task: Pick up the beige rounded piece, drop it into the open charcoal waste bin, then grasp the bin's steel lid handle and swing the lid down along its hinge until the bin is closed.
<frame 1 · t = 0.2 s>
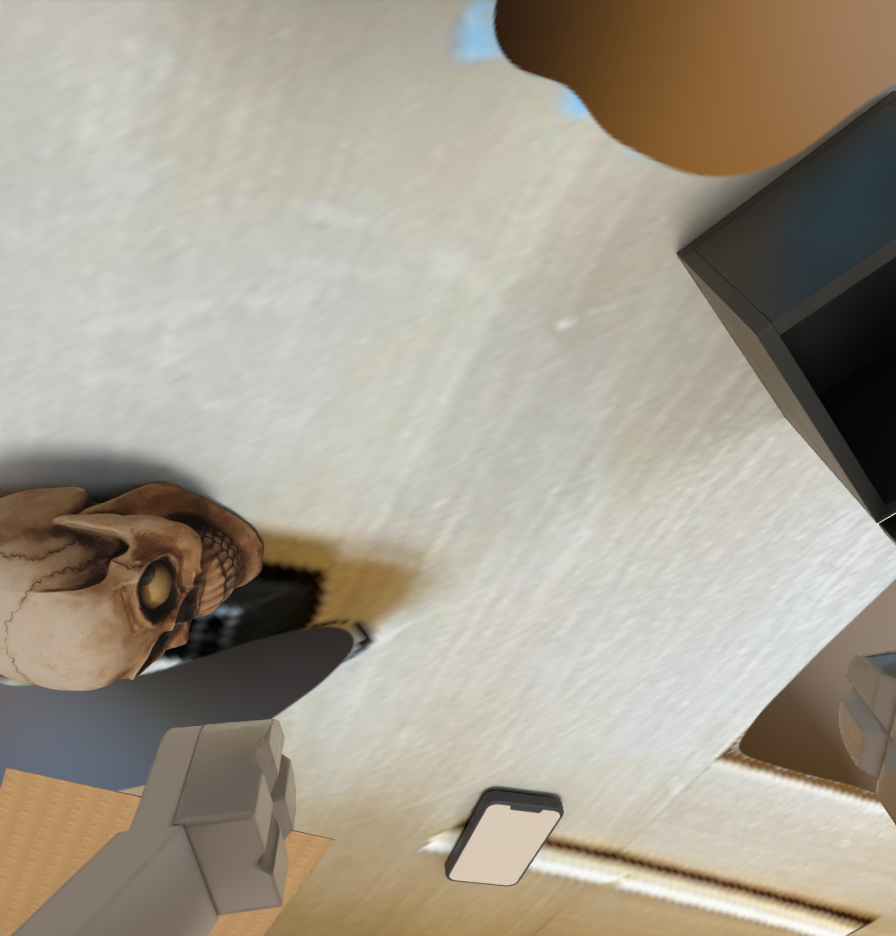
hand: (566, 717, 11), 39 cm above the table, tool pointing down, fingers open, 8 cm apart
waste bin: (833, 273, 49), on the table
brown skull: (131, 532, 57), on the table
staircase: (135, 890, 84), on the table
phone case: (500, 831, 82), on the table
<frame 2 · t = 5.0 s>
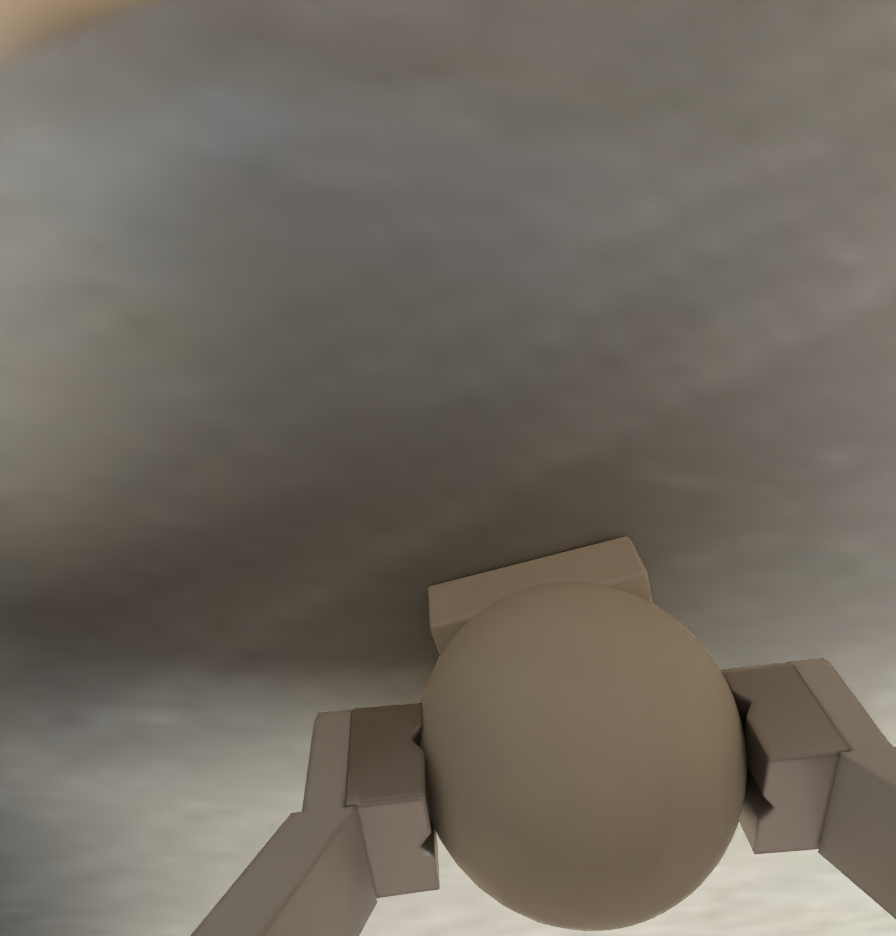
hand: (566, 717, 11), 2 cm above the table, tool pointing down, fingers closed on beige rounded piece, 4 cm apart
beige rounded piece: (547, 637, 12), on the table, touching gripper
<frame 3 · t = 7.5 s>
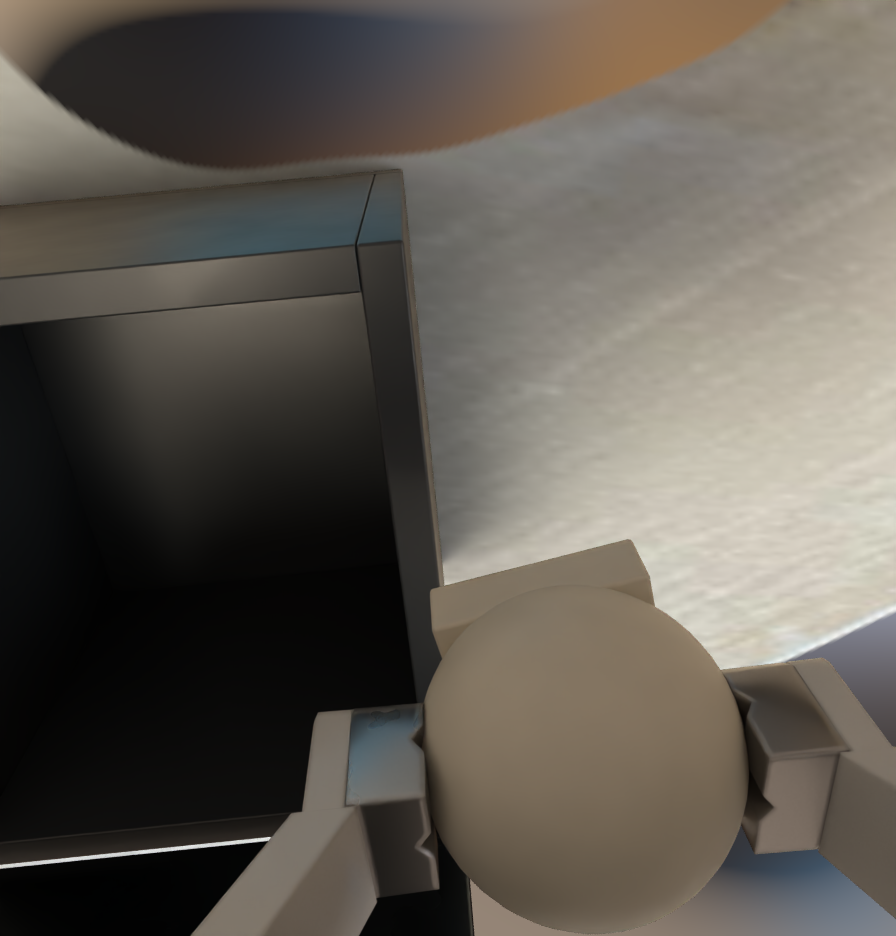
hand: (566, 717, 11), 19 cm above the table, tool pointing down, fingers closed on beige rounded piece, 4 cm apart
beige rounded piece: (549, 639, 12), point 17 cm above the table, touching gripper
waste bin: (235, 410, 28), on the table
when the fingers open (15 cm above the table, at t = 10.0 s): beige rounded piece drops 11 cm and tips over, resting on waste bin.
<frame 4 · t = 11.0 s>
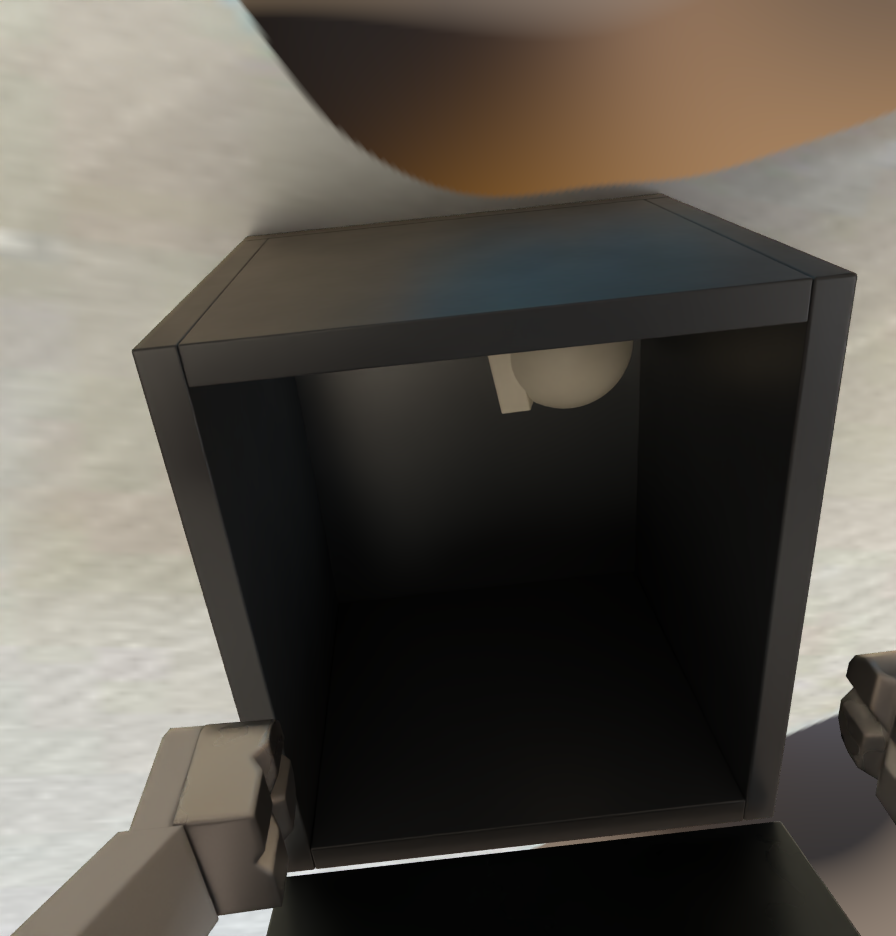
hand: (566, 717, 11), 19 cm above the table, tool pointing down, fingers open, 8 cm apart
beige rounded piece: (499, 351, 26), point 2 cm above the table, tilted 72°, touching waste bin
waste bin: (472, 425, 29), on the table
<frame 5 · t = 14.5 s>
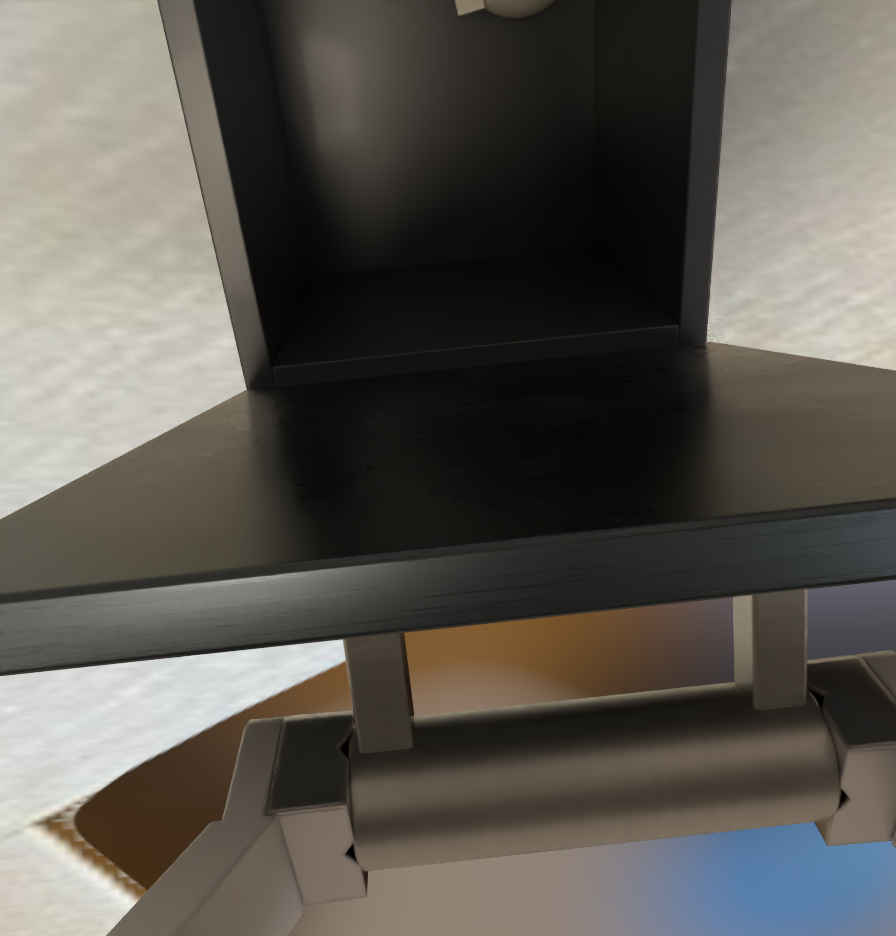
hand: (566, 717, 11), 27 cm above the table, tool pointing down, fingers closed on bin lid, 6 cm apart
waste bin: (436, 83, 31), on the table
bin lid: (518, 524, 15), point 21 cm above the table, hinge at 75.0°, touching gripper
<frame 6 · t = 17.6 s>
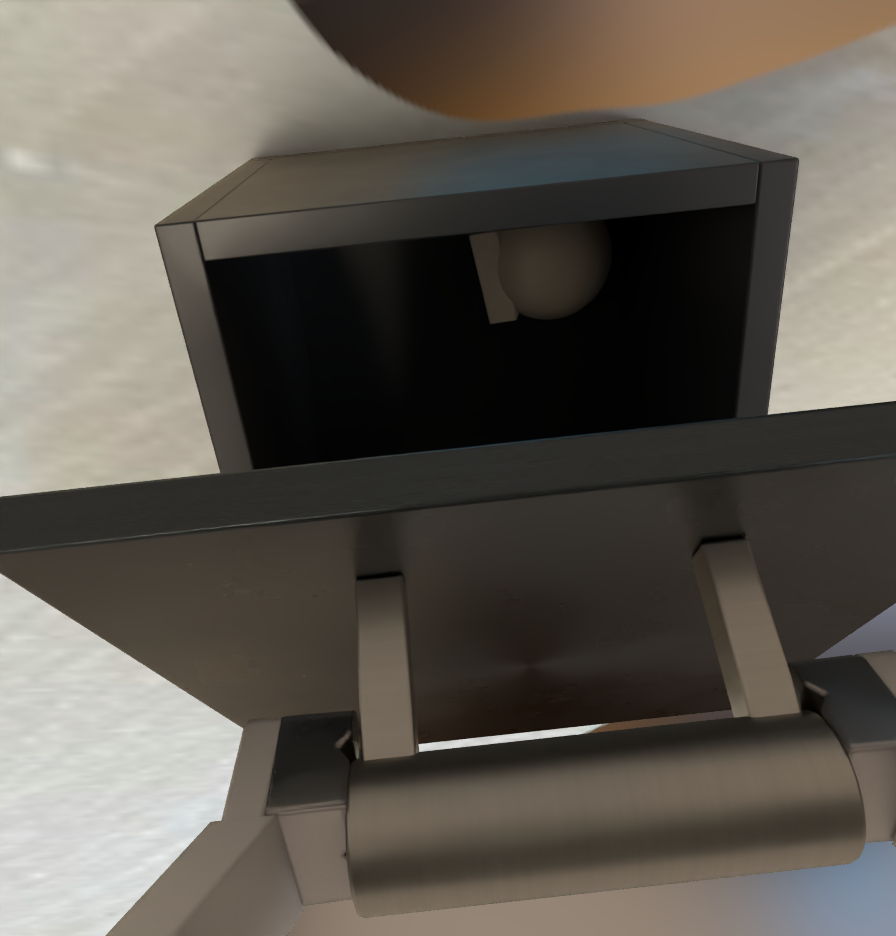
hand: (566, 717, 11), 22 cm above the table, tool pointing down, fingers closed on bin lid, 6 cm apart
beige rounded piece: (488, 267, 27), point 2 cm above the table, tilted 72°, touching waste bin
waste bin: (463, 345, 31), on the table
bin lid: (542, 749, 15), point 19 cm above the table, hinge at 32.3°, touching gripper
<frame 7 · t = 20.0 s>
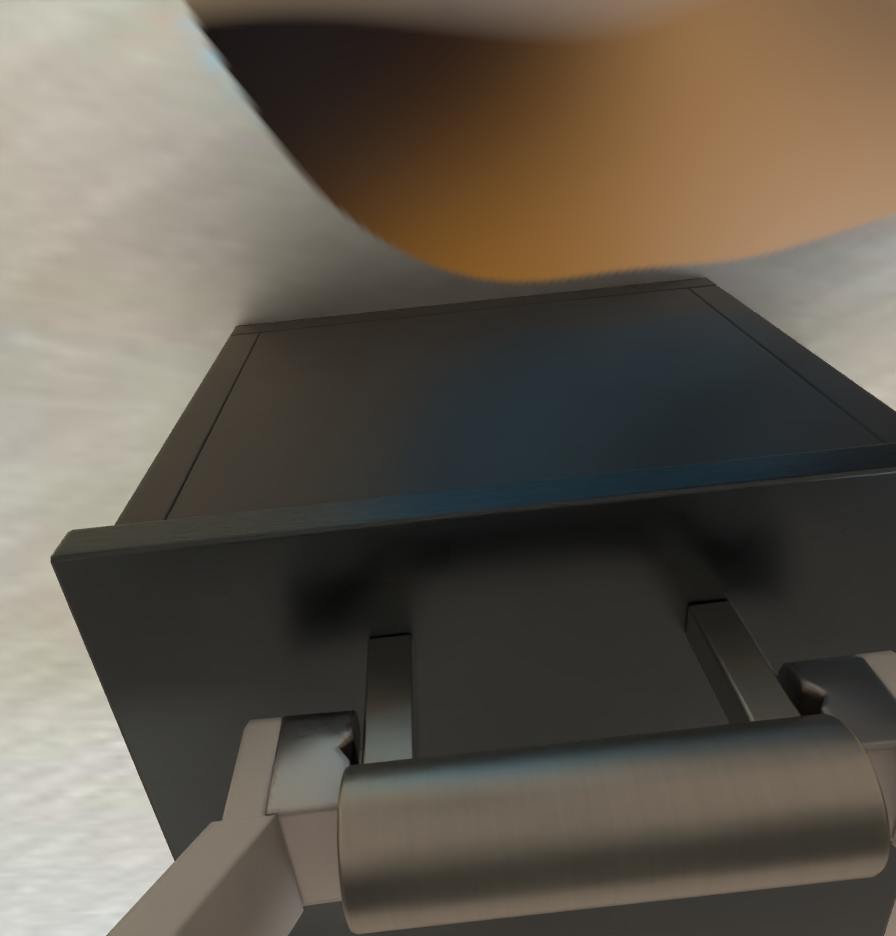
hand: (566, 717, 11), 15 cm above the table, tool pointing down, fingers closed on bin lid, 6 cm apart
waste bin: (488, 521, 27), on the table
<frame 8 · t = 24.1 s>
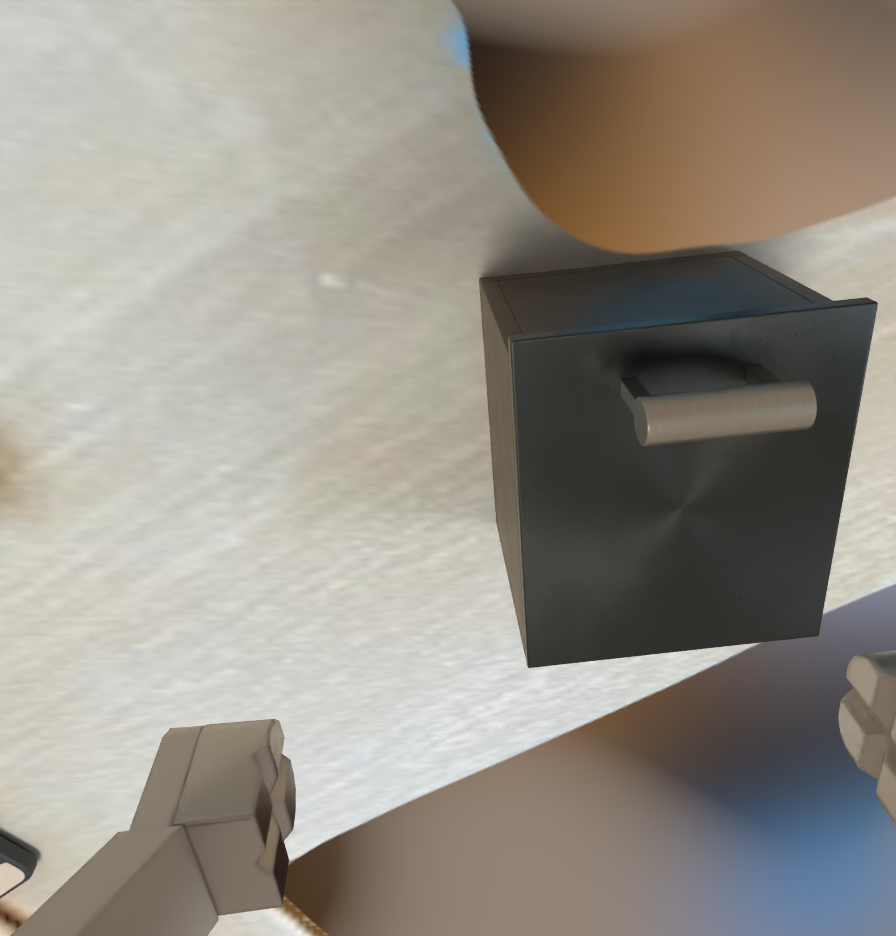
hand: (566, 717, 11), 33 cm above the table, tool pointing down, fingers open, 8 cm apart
waste bin: (608, 398, 45), on the table
bin lid: (696, 527, 31), point 15 cm above the table, hinge at -0.2°, touching waste bin
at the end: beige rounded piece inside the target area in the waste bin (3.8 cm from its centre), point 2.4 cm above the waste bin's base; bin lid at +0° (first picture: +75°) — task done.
